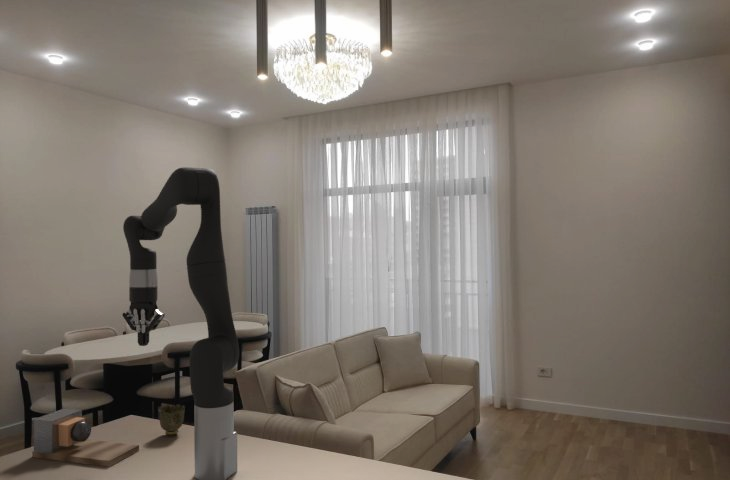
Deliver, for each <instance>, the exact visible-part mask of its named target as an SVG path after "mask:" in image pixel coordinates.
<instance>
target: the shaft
mask: <svg viewBox="0 0 730 480" xmlns="http://www.w3.org/2000/svg"><path fill="white" fill-rule="evenodd" d="M91 433H92V426H91V423H89V422H88V421H85V422H77V423H76V424H75V425H74V426H73V427H72V430H71V439H72V440H73V441H78V442H84V441H86V440H87V439H88V440H89V438H90V436H91Z"/></svg>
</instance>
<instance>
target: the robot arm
mask: <svg viewBox="0 0 730 480" xmlns="http://www.w3.org/2000/svg"><path fill="white" fill-rule="evenodd" d="M218 178H219V177H218V175H217V172H216V171H214V170H213V169H212V168H203V167H184V166H183V167H179V168H177V169H175V170H174V171H172V173H171V174H170V176H169V177H168V179H166V180H167V181H166V182H165V183H164V185H163V187H162V188H161V191H160V192H159V194H158V196H157V197H156V198H155V199H154V201H152V202H151V204H150V205H148V206H147V207H145V209H144V210H143V211H142V213H141V215H129V216H128V217H126V219H124V221H123V226H122V228H123V234H124V236H125V239H126V244H127V248H128V251H129V261H130V263H129V265H130V266H129V269H130V272H129V277H128V278H129V280H128V284H129V287H128V288H129V289H128V291H129V292H128V294H129V295H128V296H129V298H128V299H129V302H130V305H129V306H128V308H129V309H128V310H127V311H126V312H123V313H122V317H123V319H124V320H125V322H126V323H127V325H128V326H129V328H130V329H131V330H132V331H135V332H136V334H137V344H138V345H139V346H140V347H145V346H148V345H149V343H150V332H151V331H155V330H156V329H157V328H158V326H159V325H160V323H161V322H162V321H163V319H164V317H165V315H166V314H165V313H164V312H161V311H160V310H159V307H158V305H157V301H158V271H157V270H158V269H157V266H158V265H157V258H158V257H157V252H156V250H155V249H153V248H148V247H145V246H143V245H142V243H141V241H156V240H158V239H160V238H161V237H162V236H163V234H164V230H165V229H166V227H167V226H168V225H170V224H171V223H172V222H173V220H175V218H176V216H177V213H178V206H180V205H184V206H189V205H190V206H200V225H199V229H198V231H197V233H196V236H195V237H194V239H193V242H192V244H191V245H190V247H189V250H188V252H187V256H186V271H187V279H188V280H187V281H188V284H189V288H190V290H191V292H192V294H193V296H194V298H195V299H196V301H197V303H198V304H199V306H200V307H201V309H202V311H203V314H204V316H205V320H206V324H207V326H206V327H207V332H208V333H207V335H208V336H207V337H205V338H203V339H199V340H198V341H196V342H195V343H194V344H192V347H191V350H190V353H189V363H188V364H189V384H190V391H191V394H192V396H193V401H194V404H193V405H194V409H193V412H194V420H193V421H194V423H193V424H194V429H193V430H194V478H195V479H196V480H227V479H228V478H230V477H231V476H233V475H234V474H235V473H236V472H237V471H238V432H237V431H235V428H234V427H235V426H234V425H235V424H234V423H235V422H234V421H235V420H234V418H235V417H234V416H235V415H234V410H235V409H234V408H235V406H234V405H235V404H234V400H235V399H234V398H235V397H234V396H235V395H234V390H233V389H232V388H231V387H228V386H225V382H224V373H226V372H228V371H231V370H232V369H233V368H235V367H236V365H237V364H238V362H239V358H240V347H239V346H240V345H239V341H238V337H237V333H236V332H237V331H236V328H235V324H234V319H233V314H232V308H231V301H230V293H229V286H228V283H229V282H228V273H227V264H226V257H225V252H224V251H225V250H224V244H223V243H224V242H223V234H222V233H223V232H222V223H221V222H222V220H221V191H220V190H221V189H220V182H219V179H218Z"/></svg>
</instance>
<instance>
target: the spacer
mask: <svg viewBox="0 0 730 480" xmlns="http://www.w3.org/2000/svg"><path fill="white" fill-rule="evenodd" d="M77 422H86V417H82V418H81V417H75V418H73V419H70V420H68V421H66V422H63V423H61V424H58V430H59V446H67V447H68V446H70V445H72V439H71V430H72V427H73V426H74V425H75V424H76V423H77Z"/></svg>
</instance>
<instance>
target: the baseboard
mask: <svg viewBox="0 0 730 480" xmlns="http://www.w3.org/2000/svg"><path fill="white" fill-rule="evenodd" d="M139 451H140V445H139V444H132V443H131V444H130V443H122V442H115V441H113V442H112V441H105V440H104V441H103V440H96V439H89V438H88V439H87V440H86V441H84V442H77V443H75V444H73V445H71V446H68V447H66V448H64V449H62V450H60V451H57V452H55V453H53V454H49V453H41V452H34V450H32V453H31V455H32V458H35V457H36V458H37V459H44V460H51V461H52V460H53V461H60V462H67V463H77V464H82V465H83V464H84V465H93V466H99V467H107V468H108V467H112V466H114V465H115V464H117V463H119V462H121V461H123V460H125V459H127V458H128V457H130V456H132V455H134V454H136V453H137V452H139Z"/></svg>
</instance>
